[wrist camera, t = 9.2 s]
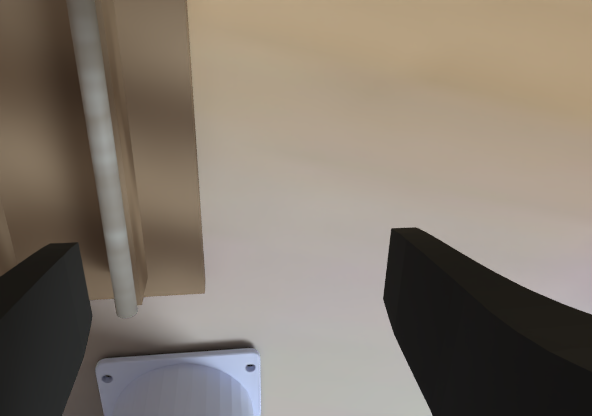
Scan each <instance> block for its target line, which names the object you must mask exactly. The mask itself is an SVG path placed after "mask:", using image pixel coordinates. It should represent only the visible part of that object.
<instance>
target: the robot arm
mask: <svg viewBox="0 0 592 416" xmlns="http://www.w3.org/2000/svg"><path fill="white" fill-rule="evenodd" d="M383 300H384V303H385V307H386V310H387V313H388V317H389V320H390V323H391V326H392V329H393V332H394V335H395V337H396V339H397V341H398V344H399V346H400V348H401V350H402V352H403V354H404V356H405V358H406V361H407V363H408V365H409V367H410V369H411V371H412V373H413V375H414V377H415V379H416V381H417V383H418V385H419V387H420V390H421V392H422V394H423V396H424V398H425V400H426V402H427V404H428V406H429V408H430V410H431V413H432V415H433V416H592V315H591V314H589V313H586V312H583V311H580V310H577V309H575V308H572V307H569V306H567V305H564V304H562V303H559V302H557V301H554V300H552V299H550V298H547V297H545V296H543V295H540V294H538V293H536V292H533V291H531V290H529V289H527V288H525V287H523V286H521V285H519V284H517V283H515V282H513V281H511V280H509V279H507V278H505V277H503V276H501V275H499V274H497V273H495V272H494V271H492V270H490V269H488V268H486V267H484V266H483V265H481V264H479V263H477V262H476V261H474V260H472V259H471V258H469V257H467V256H465V255H464V254H462V253H460V252H459V251H457V250H455V249H454V248H452V247H450V246H449V245H447V244H445V243H444V242H442V241H440V240H439V239H437V238H435V237H433V236H432V235H430V234H428V233H426V232H424V231H423V230H420V229H418V228H416V227H415V228H392V229H391V236H390V245H389V253H388V262H387V271H386V279H385V288H384V296H383ZM91 321H92V311H91V306H90V301H89V296H88V290H87V285H86V280H85V274H84V269H83V264H82V259H81V253H80V248H79V243H78V242H71V243H50V244H48V245H46V246H44V247H43V248H41V249H39V250H38V251H36V252H35V253H33V254H32V255H30V256H29V257H28V258H26V259H25V260H23V261H22V262H20V263H19V264H18V265H16V266H15V267H13V268H12V269H10V270H9V271H8V272H6V273H5V274H3V275H2V276H0V416H62V414H63V411H64V408H65V406H66V403H67V400H68V398H69V395H70V392H71V390H72V387H73V384H74V382H75V379H76V376H77V374H78V371H79V368H80V366H81V363H82V360H83V357H84V354H85V349H86V345H87V341H88V336H89V331H90V326H91ZM249 364H253V366H251V367H249V366H247V365H249ZM95 372H96V377H97V383H98V388H99V393H100V398H101V403H102V408H103V413H104V416H261V385H260V354H259V352H258V351H257V350H256V349H254V348H243V349H229V350H215V351H201V352H187V353H173V354H159V355H145V356H131V357H117V358H105V359H101V360H100V361H98V363H97V365H96V369H95ZM104 375H110V376H112V377H106V376H104Z"/></svg>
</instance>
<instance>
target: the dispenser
mask: <svg viewBox="0 0 592 416" xmlns="http://www.w3.org/2000/svg"><path fill="white" fill-rule="evenodd" d="M71 242H78V243H79V248H80V253H81V259H82V264H83V269H84V274H85V280H86V285H87V290H88V296H89V300H98V299H114V301H115V307H116V313H117V316H118V317H120V318H130V317H133V316H134V315H136V314H137V312H138V308H137V305H142V302H143V297H150V296H168V295H185V294H202V293H205V269H204V254H203V239H202V224H201V209H200V194H199V179H198V164H197V149H196V134H195V119H194V104H193V89H192V74H191V59H190V44H189V29H188V14H187V0H0V276H2V275H3V274H5V273H6V272H8V271H9V270H10V269H12V268H13V267H15V266H16V265H18V264H19V263H20V262H22V261H23V260H25V259H26V258H28V257H29V256H30V255H32V254H33V253H35V252H36V251H38V250H39V249H41V248H43V247H44V246H46V245H48V244H50V243H71Z"/></svg>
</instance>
